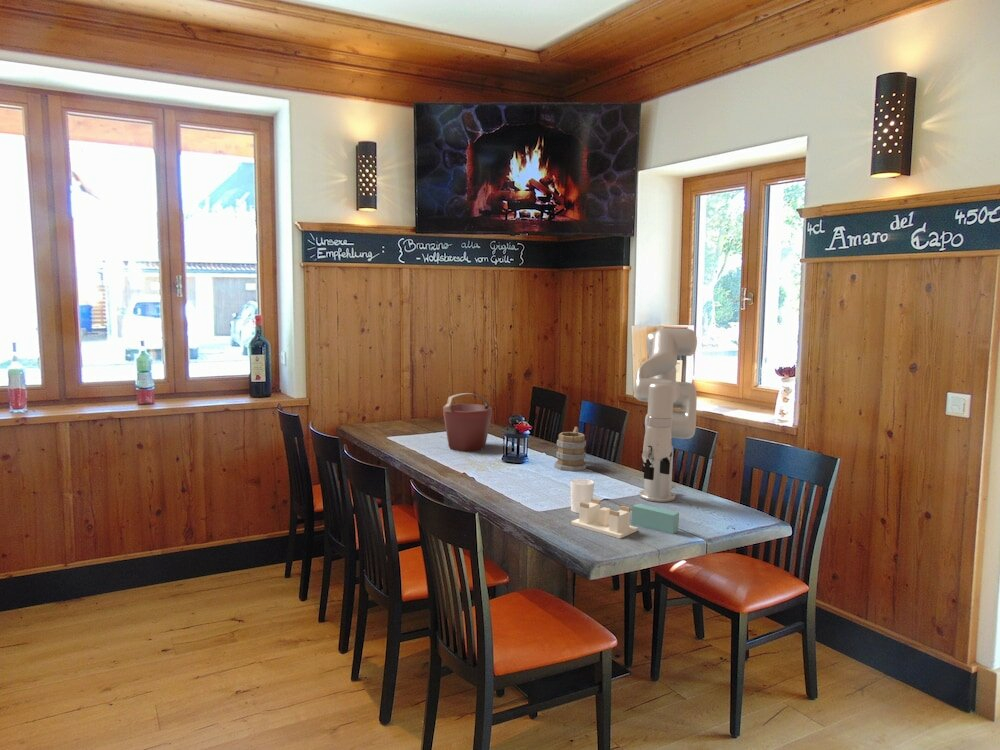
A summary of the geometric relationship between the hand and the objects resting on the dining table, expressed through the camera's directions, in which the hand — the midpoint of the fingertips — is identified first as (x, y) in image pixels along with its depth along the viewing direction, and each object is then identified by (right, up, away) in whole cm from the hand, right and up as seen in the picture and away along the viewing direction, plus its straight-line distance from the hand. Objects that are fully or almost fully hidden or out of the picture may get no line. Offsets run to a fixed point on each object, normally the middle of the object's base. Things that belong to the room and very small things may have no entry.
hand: (656, 476), depth 226 cm
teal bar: (0, -16, +2) cm, 17 cm away
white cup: (-22, -14, +17) cm, 31 cm away
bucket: (-65, -2, +108) cm, 126 cm away
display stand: (-16, -16, 0) cm, 23 cm away
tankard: (-18, -7, +79) cm, 81 cm away
